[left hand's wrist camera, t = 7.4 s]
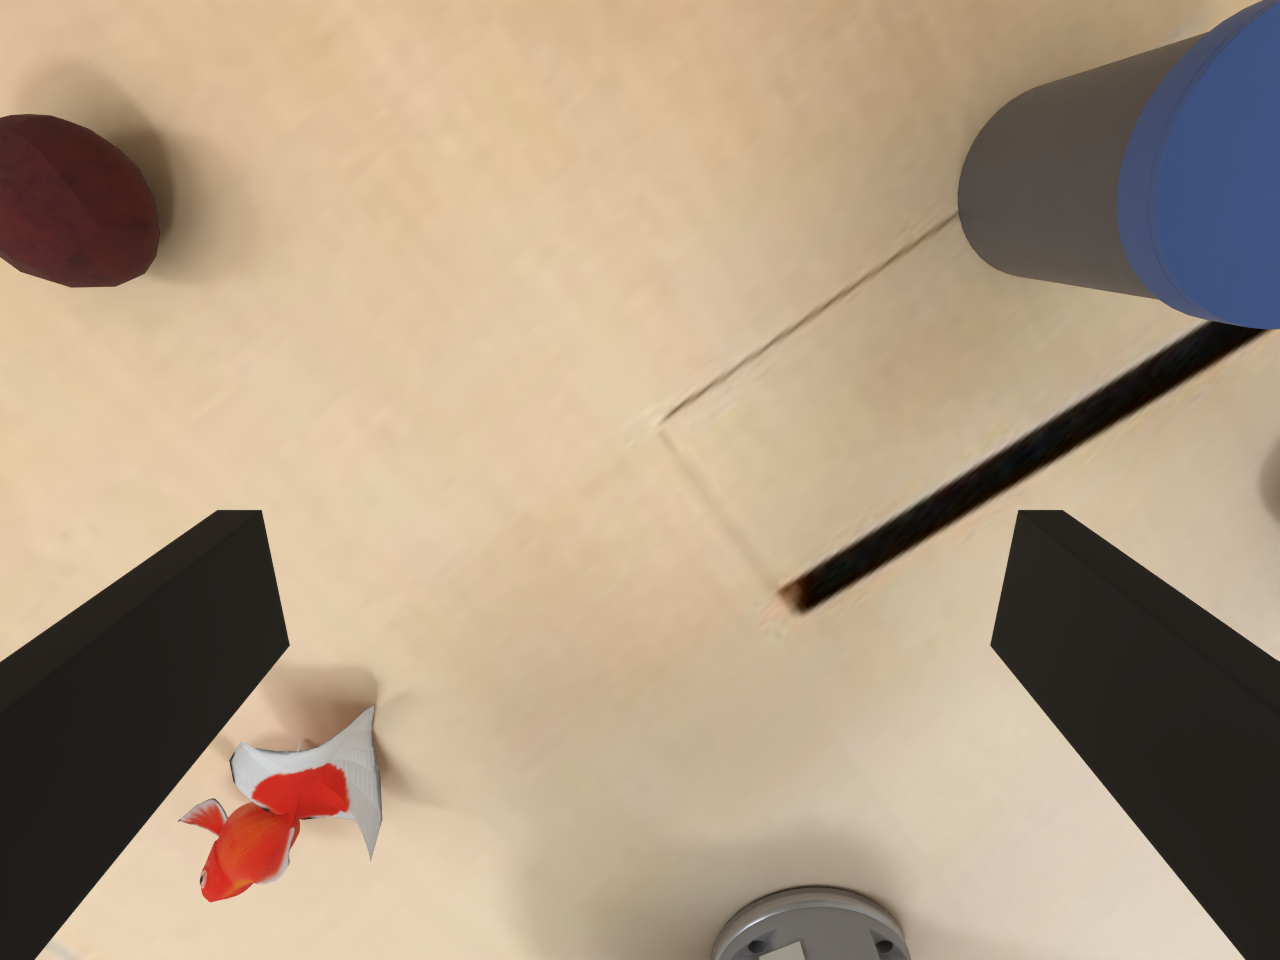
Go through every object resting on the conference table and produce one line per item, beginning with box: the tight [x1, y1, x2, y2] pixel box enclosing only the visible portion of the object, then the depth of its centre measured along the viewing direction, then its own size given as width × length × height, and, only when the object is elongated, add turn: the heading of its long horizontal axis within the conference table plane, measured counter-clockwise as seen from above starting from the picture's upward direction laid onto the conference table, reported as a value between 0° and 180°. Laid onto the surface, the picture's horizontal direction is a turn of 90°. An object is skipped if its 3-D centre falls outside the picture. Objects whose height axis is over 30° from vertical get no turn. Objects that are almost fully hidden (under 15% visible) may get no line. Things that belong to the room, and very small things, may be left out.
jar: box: [958, 32, 1208, 299], centre depth 29 cm, size 9×9×15 cm
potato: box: [0, 114, 160, 287], centre depth 33 cm, size 7×8×7 cm
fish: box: [178, 704, 382, 902], centre depth 45 cm, size 11×16×10 cm
